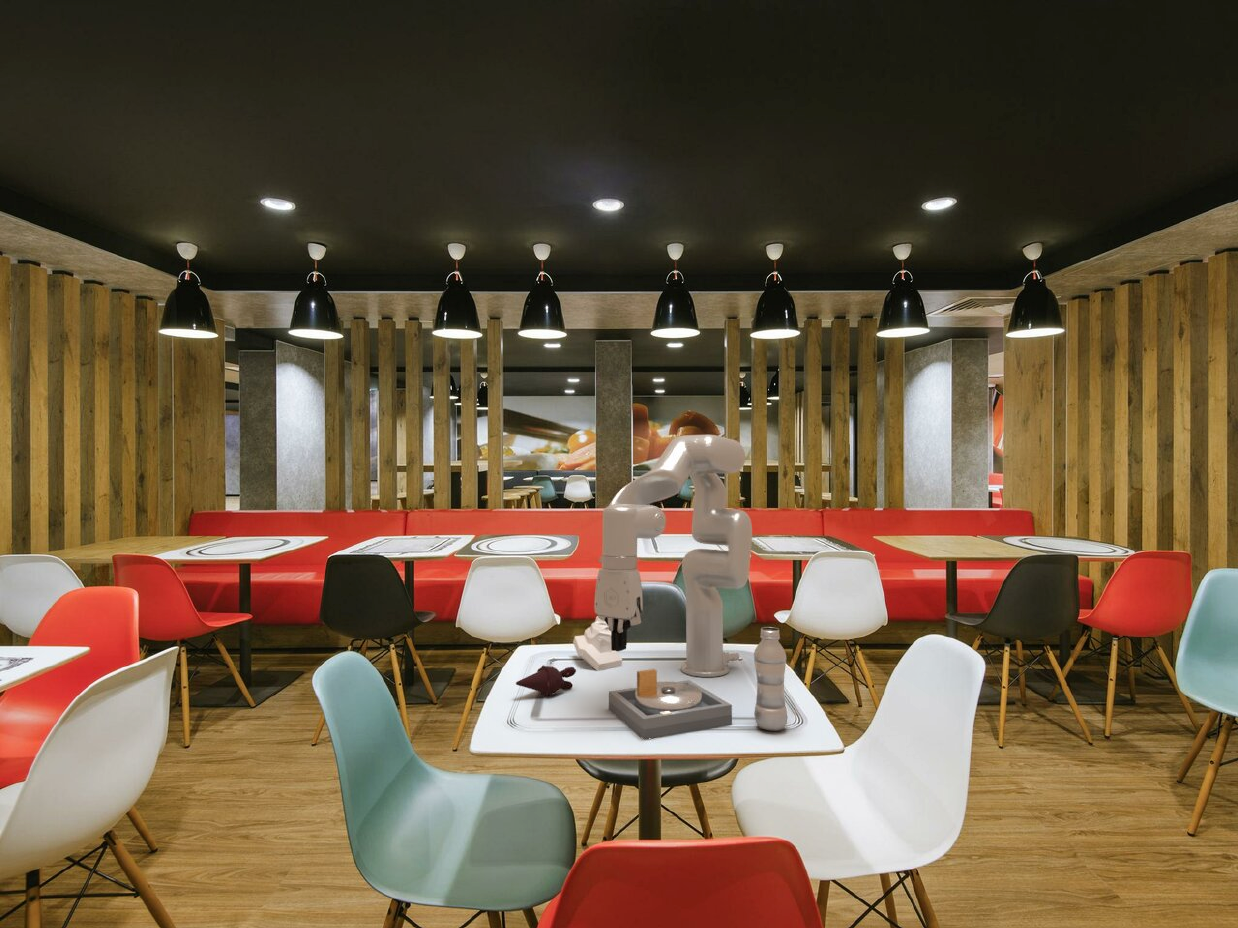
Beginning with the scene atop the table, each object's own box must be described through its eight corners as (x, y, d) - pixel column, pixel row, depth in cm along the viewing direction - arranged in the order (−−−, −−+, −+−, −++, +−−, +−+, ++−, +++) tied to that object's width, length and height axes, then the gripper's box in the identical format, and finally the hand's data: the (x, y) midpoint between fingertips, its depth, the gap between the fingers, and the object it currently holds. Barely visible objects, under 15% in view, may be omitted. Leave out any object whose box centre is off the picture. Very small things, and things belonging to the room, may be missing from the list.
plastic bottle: (769, 737, 130) (768, 634, 130) (747, 725, 136) (746, 627, 136) (794, 731, 133) (793, 630, 133) (772, 720, 139) (771, 624, 139)
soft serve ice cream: (613, 659, 191) (625, 612, 190) (620, 680, 176) (634, 628, 175) (570, 650, 189) (583, 602, 188) (574, 670, 174) (588, 618, 173)
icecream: (524, 677, 148) (583, 672, 156) (513, 661, 155) (570, 657, 162) (519, 705, 149) (578, 699, 157) (507, 688, 156) (565, 683, 163)
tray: (689, 697, 153) (689, 678, 153) (732, 724, 137) (731, 703, 137) (608, 709, 146) (608, 689, 146) (643, 739, 129) (643, 717, 129)
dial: (681, 691, 150) (681, 656, 151) (714, 711, 137) (713, 673, 138) (624, 700, 145) (624, 663, 145) (653, 722, 132) (652, 681, 132)
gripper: (581, 562, 145) (580, 647, 144) (637, 567, 136) (637, 658, 135) (603, 559, 151) (602, 641, 150) (658, 564, 142) (657, 651, 141)
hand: (618, 649), depth 142 cm, fingers closed
